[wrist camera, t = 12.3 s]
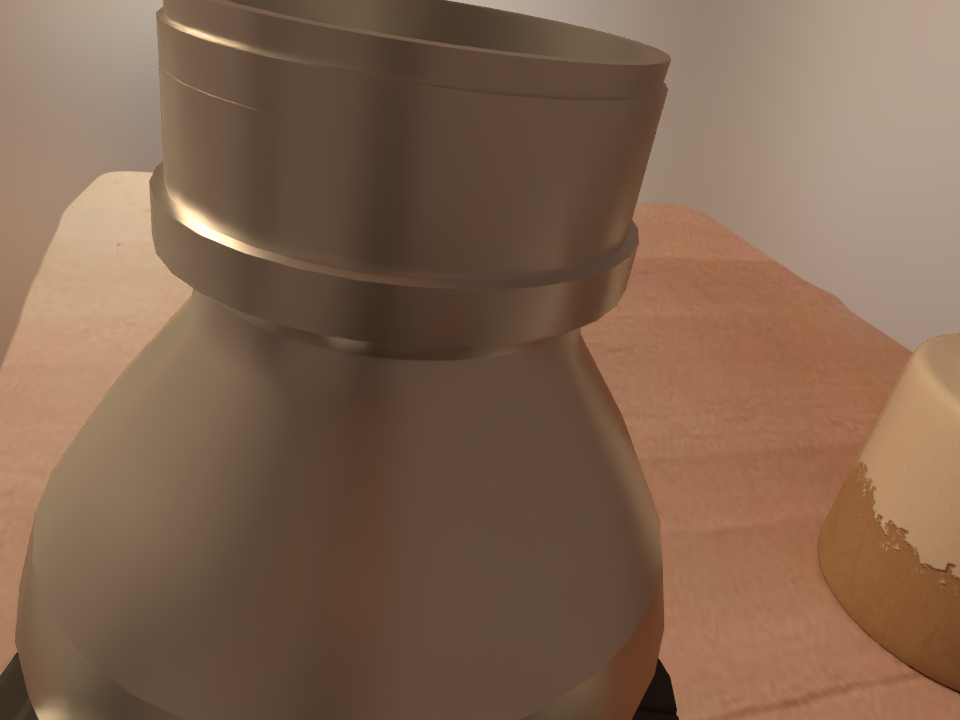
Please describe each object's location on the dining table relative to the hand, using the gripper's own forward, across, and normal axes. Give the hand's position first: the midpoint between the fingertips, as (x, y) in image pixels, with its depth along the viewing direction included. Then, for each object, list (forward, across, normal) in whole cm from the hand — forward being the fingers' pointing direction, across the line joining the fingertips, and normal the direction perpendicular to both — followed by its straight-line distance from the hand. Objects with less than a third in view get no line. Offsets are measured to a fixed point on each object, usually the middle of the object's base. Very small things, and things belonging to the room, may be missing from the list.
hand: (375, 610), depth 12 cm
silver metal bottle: (-2, 0, +11) cm, 11 cm away
